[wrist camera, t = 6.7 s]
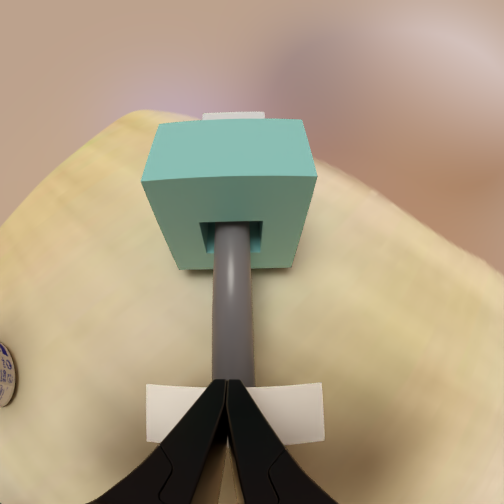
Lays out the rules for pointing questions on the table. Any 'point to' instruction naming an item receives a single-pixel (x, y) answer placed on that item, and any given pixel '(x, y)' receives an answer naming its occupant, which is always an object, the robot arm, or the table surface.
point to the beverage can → (6, 376)
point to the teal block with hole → (230, 186)
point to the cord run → (238, 346)
